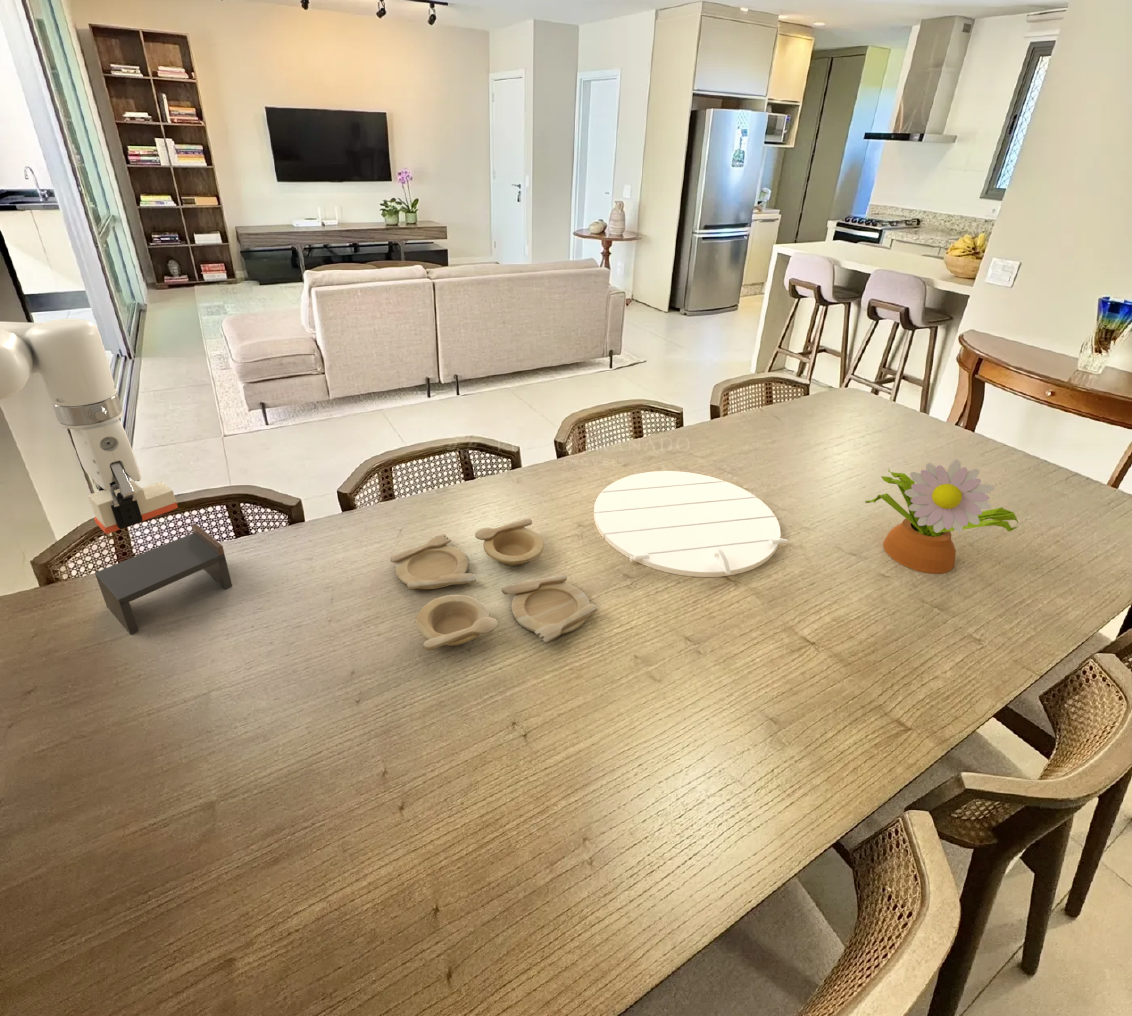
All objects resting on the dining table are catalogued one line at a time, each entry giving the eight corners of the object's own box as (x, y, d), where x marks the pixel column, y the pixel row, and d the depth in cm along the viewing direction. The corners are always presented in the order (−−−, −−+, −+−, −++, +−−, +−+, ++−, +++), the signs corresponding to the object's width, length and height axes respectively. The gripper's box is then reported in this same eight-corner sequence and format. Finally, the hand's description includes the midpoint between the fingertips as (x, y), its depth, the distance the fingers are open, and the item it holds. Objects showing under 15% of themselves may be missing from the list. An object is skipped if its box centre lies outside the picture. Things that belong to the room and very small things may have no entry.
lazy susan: (820, 567, 122) (824, 552, 121) (628, 591, 114) (629, 576, 112) (727, 469, 157) (729, 457, 156) (574, 482, 148) (575, 469, 147)
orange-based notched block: (106, 534, 94) (96, 505, 92) (95, 523, 96) (85, 495, 94) (178, 508, 101) (170, 480, 99) (166, 498, 103) (158, 471, 101)
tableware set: (608, 631, 104) (610, 612, 103) (433, 687, 93) (431, 666, 91) (527, 522, 132) (527, 505, 131) (385, 554, 121) (383, 536, 119)
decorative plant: (849, 565, 123) (883, 450, 112) (855, 507, 143) (884, 405, 132) (1009, 608, 114) (1063, 487, 103) (992, 539, 134) (1036, 432, 122)
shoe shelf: (130, 635, 100) (115, 591, 96) (106, 606, 105) (91, 564, 101) (232, 586, 111) (222, 545, 107) (206, 562, 116) (195, 523, 113)
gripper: (142, 418, 87) (173, 529, 95) (97, 386, 96) (130, 490, 104) (78, 435, 82) (117, 551, 90) (37, 400, 91) (76, 508, 99)
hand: (123, 517), depth 97 cm, fingers closed on orange-based notched block, 4 cm apart
